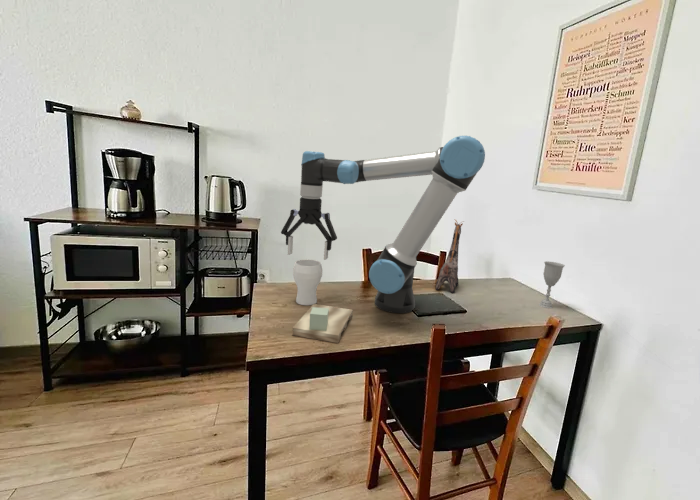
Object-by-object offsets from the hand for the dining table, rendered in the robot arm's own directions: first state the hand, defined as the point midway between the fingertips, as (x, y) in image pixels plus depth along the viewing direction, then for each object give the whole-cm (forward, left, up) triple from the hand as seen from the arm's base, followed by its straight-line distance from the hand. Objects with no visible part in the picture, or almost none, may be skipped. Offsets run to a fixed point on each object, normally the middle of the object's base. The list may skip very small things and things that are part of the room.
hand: (307, 256), depth 128 cm
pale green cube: (-12, +24, -15) cm, 30 cm away
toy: (-53, -41, -18) cm, 69 cm away
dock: (-12, +17, -17) cm, 27 cm away
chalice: (-92, -33, -18) cm, 100 cm away
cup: (0, 0, -18) cm, 18 cm away
